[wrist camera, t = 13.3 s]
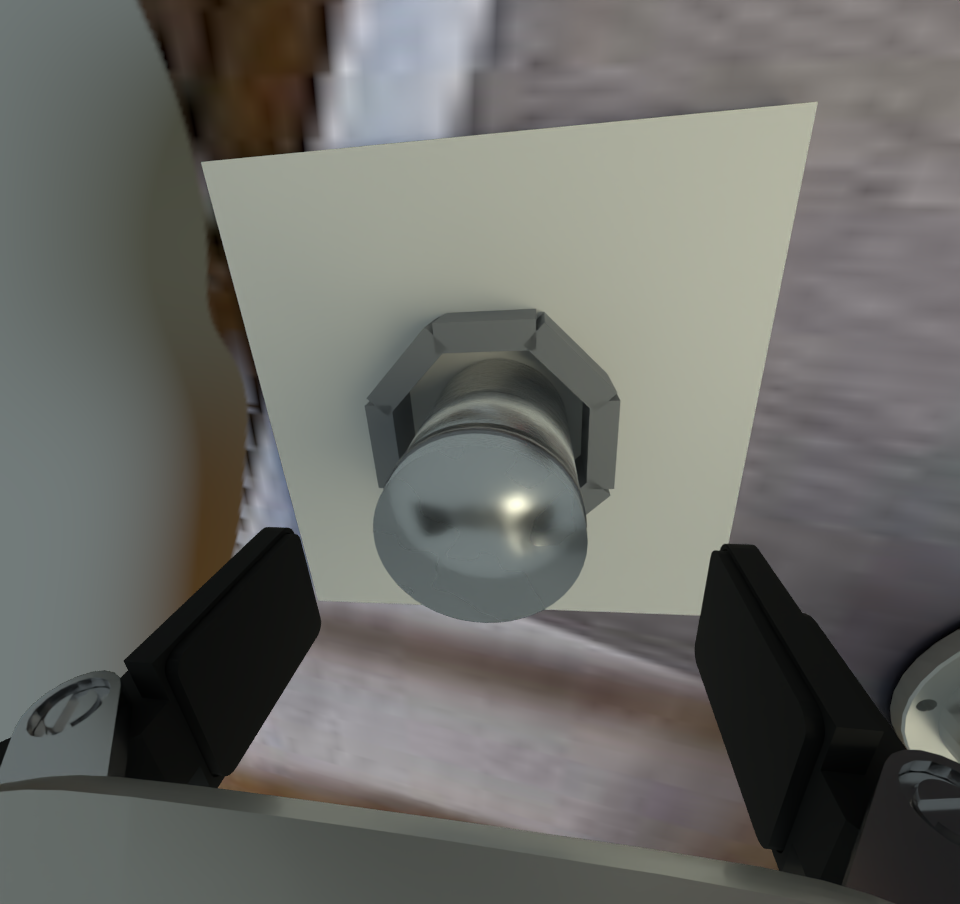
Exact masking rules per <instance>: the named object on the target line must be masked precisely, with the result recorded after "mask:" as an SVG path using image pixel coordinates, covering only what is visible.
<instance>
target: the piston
mask: <svg viewBox="0 0 960 904" xmlns="http://www.w3.org/2000/svg"><path fill="white" fill-rule="evenodd" d="M373 535H374V542H375V546H376V549H377V553H378V555H379V557H380V560H381V562H382V564H383V566H384V567H385V569H386V571H387V572H388V574H389V575H390V576H391V578H392V579H393V580H394V581H395V583H396V584H397V585H398V586H399V587H400V588H401V589H402V590H403V591H404V592H406V593H407V594H408V595H409V596H411V597H412V598H413V599H414V600H416V601H418V602H419V603H421V604H422V605H424V606H426V607H428V608H430V609H432V610H434V611H436V612H438V613H441V614H443V615H446V616H449V617H453V618H456V619H460V620H465V621H471V622H483V623H496V622H506V621H513V620H517V619H521V618H525V617H528V616H530V615H533V614H536V613H538V612H540V611H542V610H544V609H546V608H547V607H549V606H551V605H552V604H554V603H555V602H556V601H558V600H559V599H560V598H561V597H562V596H564V595H565V594H566V592H567V591H568V590H569V589H570V588H571V587H572V586H573V584H574V583H575V581H576V580H577V578H578V577H579V575H580V572H581V570H582V568H583V566H584V562H585V559H586V555H587V546H588V538H587V519H586V511H585V505H584V500H583V496H582V491H581V489H580V486H579V482H578V477H577V471H576V465H575V460H574V454H573V448H572V443H571V437H570V431H569V426H568V420H567V414H566V410H565V406H564V403H563V400H562V398H561V396H560V394H559V392H558V390H557V389H556V388H555V386H554V385H553V384H552V383H551V381H550V380H549V379H548V378H547V377H546V376H544V375H543V374H542V373H540V372H539V371H537V370H536V369H534V368H532V367H531V366H528V365H526V364H523V363H520V362H517V361H512V360H505V359H493V360H485V361H482V362H478V363H475V364H473V365H470V366H468V367H466V368H464V369H463V370H461V371H460V372H458V373H457V374H456V375H454V376H453V377H452V379H451V380H450V381H449V382H448V383H447V384H446V386H445V387H444V388H443V390H442V392H441V393H440V395H439V397H438V398H437V400H436V402H435V403H434V405H433V407H432V408H431V410H430V412H429V413H428V415H427V417H426V419H425V420H424V422H423V424H422V425H421V427H420V429H419V430H418V432H417V434H416V435H415V437H414V439H413V440H412V442H411V444H410V446H409V447H408V449H407V451H406V452H405V453H404V454H403V456H402V457H401V458H400V460H399V461H398V462H397V464H396V466H395V467H394V469H393V470H392V472H391V474H390V476H389V478H388V480H387V481H386V483H385V486H384V489H383V491H382V493H381V495H380V497H379V499H378V502H377V505H376V508H375V513H374V519H373Z"/></svg>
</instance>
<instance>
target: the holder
mask: <svg viewBox="0 0 960 904" xmlns="http://www.w3.org/2000/svg"><path fill="white" fill-rule="evenodd" d="M817 104H818V102H811V103H800V104H790V105H780V106H770V107H760V108H749V109H739V110H729V111H719V112H708V113H698V114H688V115H678V116H667V117H657V118H647V119H637V120H627V121H616V122H606V123H596V124H586V125H575V126H565V127H555V128H545V129H534V130H524V131H514V132H504V133H494V134H483V135H473V136H463V137H453V138H442V139H432V140H422V141H412V142H402V143H391V144H381V145H371V146H361V147H350V148H340V149H330V150H320V151H309V152H299V153H289V154H279V155H269V156H258V157H248V158H238V159H228V160H217V161H207V162H201V165H202V168H203V172H204V176H205V180H206V183H207V187H208V191H209V195H210V198H211V202H212V206H213V209H214V213H215V217H216V221H217V224H218V228H219V232H220V236H221V239H222V243H223V247H224V251H225V254H226V258H227V262H228V266H229V269H230V273H231V277H232V281H233V284H234V288H235V292H236V295H237V299H238V303H239V307H240V310H241V314H242V318H243V322H244V325H245V329H246V333H247V337H248V340H249V344H250V348H251V352H252V355H253V359H254V363H255V367H256V370H257V374H258V378H259V381H260V385H261V389H262V393H263V396H264V400H265V404H266V408H267V411H268V415H269V419H270V423H271V426H272V430H273V434H274V438H275V441H276V445H277V449H278V453H279V456H280V460H281V464H282V467H283V471H284V475H285V479H286V482H287V486H288V490H289V494H290V497H291V501H292V505H293V509H294V512H295V516H296V520H297V524H298V527H299V531H300V535H301V539H302V542H303V546H304V550H305V553H306V557H307V561H308V565H309V568H310V572H311V576H312V580H313V583H314V587H315V591H316V595H317V598H318V601H337V602H363V603H389V604H415V605H422V604H421V603H419V602H418V601H416V600H414V599H413V598H412V597H411V596H409V595H408V594H407V593H406V592H404V591H403V590H402V589H401V588H400V587H399V586H398V585H397V584H396V583H395V581H394V580H393V579H392V578H391V576H390V575H389V574H388V572H387V571H386V569H385V567H384V566H383V564H382V562H381V560H380V557H379V555H378V553H377V549H376V546H375V542H374V535H373V519H374V513H375V508H376V505H377V502H378V499H379V497H380V495H381V493H382V491H383V489H384V486H385V483H386V481H387V480H388V478H389V476H390V474H391V472H392V470H393V469H394V467H395V466H396V464H397V462H398V461H399V460H400V458H401V457H402V456H403V454H404V453H405V452H406V451H407V449H408V447H409V446H410V444H411V442H412V440H413V439H414V437H415V435H416V434H417V432H418V430H419V429H420V427H421V425H422V424H423V422H424V420H425V419H426V417H427V415H428V413H429V412H430V410H431V408H432V407H433V405H434V403H435V402H436V400H437V398H438V397H439V395H440V393H441V392H442V390H443V388H444V387H445V386H446V384H447V383H448V382H449V381H450V380H451V379H452V377H453V376H454V375H456V374H457V373H458V372H460V371H461V370H463V369H464V368H466V367H468V366H470V365H473V364H475V363H478V362H482V361H485V360H493V359H505V360H512V361H517V362H520V363H523V364H526V365H528V366H531V367H532V368H534V369H536V370H537V371H539V372H540V373H542V374H543V375H544V376H546V377H547V378H548V379H549V380H550V381H551V383H552V384H553V385H554V386H555V388H556V389H557V390H558V392H559V394H560V396H561V398H562V400H563V403H564V406H565V410H566V414H567V420H568V426H569V431H570V437H571V443H572V448H573V454H574V460H575V465H576V471H577V477H578V482H579V486H580V489H581V491H582V496H583V500H584V505H585V511H586V519H587V538H588V546H587V555H586V559H585V562H584V566H583V568H582V570H581V572H580V575H579V577H578V578H577V580H576V581H575V583H574V584H573V586H572V587H571V588H570V589H569V590H568V591H567V592H566V594H565V595H564V596H562V597H561V598H560V599H559V600H558V601H556V602H555V603H554V604H552V605H551V606H549V607H547V608H546V609H544V610H570V611H596V612H622V613H648V614H674V615H700V614H701V608H702V602H703V597H704V591H705V585H706V580H707V574H708V568H709V563H710V557H711V553H712V552H713V551H714V550H718V551H720V548H721V546H722V545H723V544H728V543H729V538H730V533H731V528H732V523H733V519H734V514H735V509H736V504H737V499H738V494H739V489H740V484H741V479H742V474H743V469H744V464H745V459H746V454H747V449H748V444H749V439H750V435H751V430H752V425H753V420H754V415H755V410H756V405H757V400H758V395H759V390H760V385H761V380H762V375H763V370H764V365H765V360H766V356H767V351H768V346H769V341H770V336H771V331H772V326H773V321H774V316H775V311H776V306H777V301H778V296H779V291H780V286H781V281H782V276H783V272H784V267H785V262H786V257H787V252H788V247H789V242H790V237H791V232H792V227H793V222H794V217H795V212H796V207H797V202H798V197H799V193H800V188H801V183H802V178H803V173H804V168H805V163H806V158H807V153H808V148H809V143H810V138H811V133H812V128H813V123H814V118H815V114H816V109H817Z"/></svg>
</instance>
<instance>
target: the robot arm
mask: <svg viewBox="0 0 960 904" xmlns="http://www.w3.org/2000/svg"><path fill="white" fill-rule="evenodd" d="M320 627H321V618H320V614H319V610H318V607H317V603H316V599H315V595H314V591H313V587H312V583H311V579H310V575H309V571H308V567H307V563H306V559H305V555H304V552H303V548H302V544H301V540H300V537H299V536H298V535H296V534H294V532H293V530H292V529H290V528H279V527H266V528H264V529H262V530H261V531H260V532H259V533H258V534H257V535H256V536H255V537H254V538H253V539H252V540H250V541H249V542H248V543H247V544H246V545H245V546H244V547H243V548H242V549H241V550H240V551H239V552H238V553H237V554H236V555H235V556H234V557H233V558H231V559H230V560H229V561H228V562H227V563H226V564H225V565H224V566H223V567H222V568H221V569H220V570H219V571H218V572H217V573H216V574H215V575H214V576H213V577H211V578H210V579H209V580H208V581H207V582H206V583H205V584H204V585H203V586H202V587H201V588H200V589H199V590H198V591H197V592H196V593H195V594H194V595H193V596H191V597H190V598H189V599H188V600H187V601H186V602H185V603H184V604H183V605H182V606H181V607H180V608H179V609H178V610H177V611H176V612H175V613H173V614H172V615H171V616H170V617H169V618H168V619H167V620H166V621H165V622H164V623H163V624H162V625H161V626H160V627H159V628H158V629H157V630H156V631H154V633H152V634H151V636H149V637H148V638H147V639H146V640H145V641H144V642H143V643H142V644H141V645H140V646H139V647H138V648H137V649H135V650H134V651H133V652H132V653H131V654H130V655H129V656H128V657H127V658H126V659H125V660H124V663H125V665H126V667H127V669H128V671H127V672H126V673H125V674H124V675H123V676H122V677H121V678H120V677H119V676H118V675H116V674H115V673H114V672H110V671H105V670H104V671H95V672H90V673H86V674H83V675H80V676H77V677H75V678H73V679H70V680H68V681H66V682H64V683H62V684H60V685H59V686H57V687H56V688H54V689H52V690H51V691H49V692H47V693H46V694H45V695H43V696H42V697H41V698H40V699H38V700H37V701H36V702H35V703H33V704H32V705H31V707H30V708H29V709H28V710H27V711H26V712H25V713H24V714H23V715H22V716H21V718H20V720H19V721H18V723H17V725H16V727H15V729H14V732H13V734H12V737H11V738H9V739H6V740H4V741H2V742H0V904H960V628H959V629H958V630H956V631H954V632H953V633H951V634H949V635H948V636H946V637H944V638H943V639H941V640H939V641H938V642H936V643H935V644H934V645H932V646H931V647H930V648H929V649H928V650H926V651H925V652H924V653H923V654H921V655H920V656H919V657H918V658H917V659H916V660H915V661H914V662H913V663H912V665H911V666H910V667H909V668H908V669H907V670H906V671H905V673H904V674H903V675H902V677H901V679H900V681H899V683H898V685H897V686H896V688H895V690H894V692H893V697H892V701H891V706H890V713H891V723H892V725H893V727H894V730H895V732H896V734H897V735H896V734H895V732H894V731H893V729H892V728H891V727H890V725H889V724H888V722H887V721H886V720H885V718H884V717H883V715H882V714H881V713H880V711H879V710H878V708H877V707H876V706H875V704H874V703H873V701H872V700H871V698H870V697H869V696H868V694H867V693H866V691H865V690H864V689H863V687H862V686H861V684H860V683H859V682H858V680H857V679H856V677H855V676H854V675H853V673H852V672H851V670H850V669H849V668H848V666H847V665H846V663H845V662H844V660H843V659H842V658H841V656H840V655H839V653H838V652H837V651H836V649H835V648H834V646H833V645H832V644H831V642H830V641H829V639H828V638H827V637H826V635H825V634H824V632H823V631H822V630H821V628H820V627H819V625H818V624H817V623H816V621H815V620H814V619H813V618H812V617H811V616H809V615H807V614H805V613H802V612H801V610H800V609H799V607H798V606H797V604H796V603H795V602H794V600H793V599H792V597H791V596H790V594H789V593H788V591H787V590H786V589H785V587H784V586H783V584H782V583H781V581H780V580H779V578H778V577H777V576H776V574H775V573H774V571H773V570H772V568H771V567H770V565H769V564H768V562H767V561H766V560H765V558H764V557H763V555H762V554H761V552H760V551H759V549H758V548H757V547H756V546H755V545H746V544H723V545H722V546H721V548H720V551H718V550H714V551H713V552H712V553H711V557H710V563H709V568H708V574H707V580H706V585H705V591H704V597H703V602H702V608H701V614H700V620H699V625H698V631H697V637H696V642H695V658H696V663H697V666H698V669H699V672H700V675H701V678H702V681H703V684H704V686H705V689H706V692H707V695H708V698H709V701H710V704H711V707H712V710H713V712H714V715H715V718H716V721H717V724H718V727H719V730H720V733H721V735H722V738H723V741H724V744H725V747H726V750H727V753H728V756H729V758H730V761H731V764H732V767H733V770H734V773H735V776H736V779H737V781H738V784H739V787H740V790H741V793H742V796H743V799H744V802H745V804H746V807H747V810H748V813H749V816H750V819H751V822H752V825H753V827H754V830H755V833H756V836H757V838H758V841H759V842H760V844H761V846H762V847H763V848H765V849H772V852H773V855H774V858H775V860H776V863H777V866H778V868H779V871H777V870H772V869H768V868H763V867H757V866H751V865H745V864H739V863H733V862H727V861H721V860H715V859H709V858H702V857H696V856H690V855H684V854H678V853H672V852H666V851H660V850H654V849H647V848H641V847H634V846H627V845H620V844H613V843H606V842H599V841H592V840H585V839H578V838H572V837H565V836H558V835H551V834H544V833H537V832H530V831H523V830H516V829H510V828H503V827H496V826H489V825H482V824H475V823H467V822H460V821H453V820H446V819H439V818H432V817H425V816H417V815H410V814H403V813H396V812H389V811H381V810H374V809H367V808H360V807H352V806H345V805H338V804H331V803H324V802H316V801H309V800H301V799H294V798H286V797H278V796H271V795H263V794H256V793H248V792H241V791H233V790H226V789H218V786H219V785H220V783H221V782H222V780H223V778H224V777H225V776H228V775H230V774H231V773H232V772H233V771H234V770H235V769H236V767H237V766H238V764H239V762H240V761H241V759H242V757H243V756H244V754H245V753H246V751H247V749H248V748H249V746H250V745H251V743H252V741H253V740H254V738H255V736H256V735H257V733H258V732H259V730H260V728H261V727H262V725H263V723H264V722H265V720H266V719H267V717H268V715H269V714H270V712H271V710H272V709H273V707H274V706H275V704H276V702H277V701H278V699H279V698H280V696H281V694H282V693H283V691H284V689H285V688H286V686H287V685H288V683H289V681H290V680H291V678H292V676H293V675H294V673H295V672H296V670H297V668H298V667H299V665H300V663H301V662H302V660H303V659H304V657H305V655H306V654H307V652H308V651H309V649H310V647H311V646H312V644H313V642H314V641H315V639H316V638H317V636H318V634H319V631H320ZM898 737H899V738H898ZM900 740H901V741H902V742H901V741H900ZM903 744H904V745H905V746H904V745H903ZM905 747H906V748H907V749H908V750H907V749H906V748H905Z"/></svg>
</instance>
